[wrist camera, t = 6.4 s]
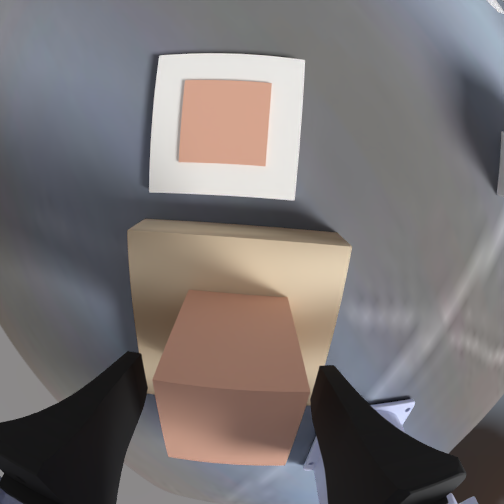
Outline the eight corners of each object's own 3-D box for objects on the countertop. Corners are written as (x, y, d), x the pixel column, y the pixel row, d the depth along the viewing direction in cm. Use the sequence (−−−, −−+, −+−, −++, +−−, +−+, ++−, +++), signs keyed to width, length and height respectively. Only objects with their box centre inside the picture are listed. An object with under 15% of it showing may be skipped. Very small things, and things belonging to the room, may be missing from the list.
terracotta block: (275, 371, 15) (284, 465, 9) (190, 364, 15) (168, 456, 9) (287, 297, 13) (310, 391, 8) (188, 289, 13) (152, 379, 7)
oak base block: (305, 374, 19) (312, 405, 16) (158, 363, 18) (146, 393, 15) (334, 230, 15) (352, 246, 13) (148, 216, 15) (127, 230, 12)
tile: (292, 198, 14) (294, 201, 13) (152, 191, 14) (147, 193, 13) (303, 63, 12) (305, 58, 11) (162, 59, 12) (158, 54, 11)
